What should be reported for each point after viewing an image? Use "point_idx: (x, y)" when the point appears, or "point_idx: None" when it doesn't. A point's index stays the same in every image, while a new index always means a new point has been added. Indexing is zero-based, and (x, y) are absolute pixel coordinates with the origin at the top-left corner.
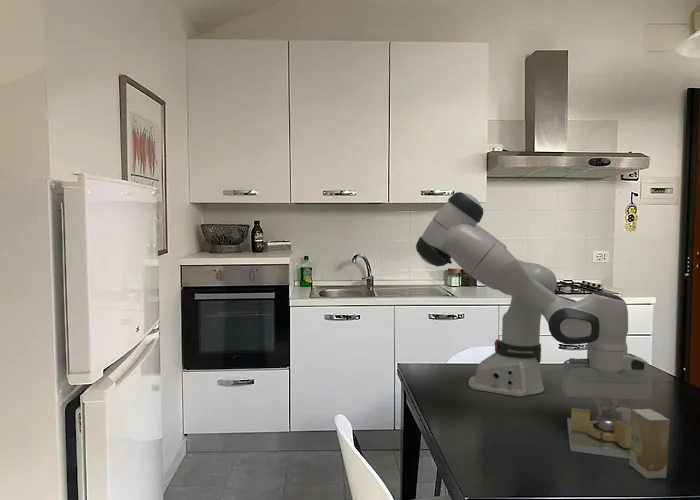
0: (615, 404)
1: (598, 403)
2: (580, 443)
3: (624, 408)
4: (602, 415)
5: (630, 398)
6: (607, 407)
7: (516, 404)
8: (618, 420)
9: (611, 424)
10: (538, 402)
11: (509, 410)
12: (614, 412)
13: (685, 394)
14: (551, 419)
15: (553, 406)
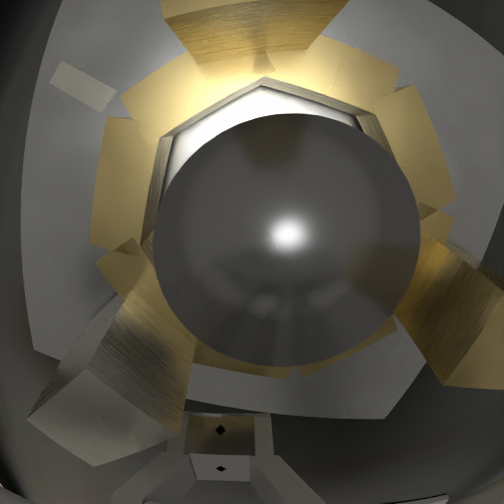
0: (137, 485)
1: (302, 495)
2: (496, 73)
3: (72, 439)
4: (252, 414)
5: (2, 493)
6: (199, 474)
7: (421, 474)
8: (174, 237)
9: (314, 118)
10: (351, 499)
11: (469, 436)
12: (167, 405)
13: (5, 479)
14: (402, 422)
15: (323, 494)
